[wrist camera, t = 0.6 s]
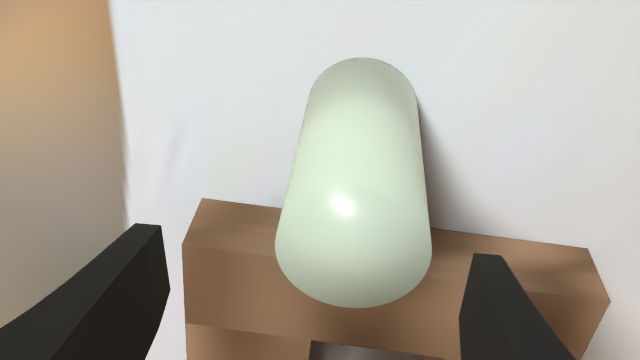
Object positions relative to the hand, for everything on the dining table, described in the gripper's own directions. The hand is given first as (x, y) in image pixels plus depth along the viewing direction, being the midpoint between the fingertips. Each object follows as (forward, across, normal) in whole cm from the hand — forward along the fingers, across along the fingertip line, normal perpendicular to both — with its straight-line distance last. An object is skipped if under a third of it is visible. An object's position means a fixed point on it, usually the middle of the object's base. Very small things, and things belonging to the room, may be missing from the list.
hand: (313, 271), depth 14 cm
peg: (+9, -1, 0) cm, 9 cm away
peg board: (+9, -2, +13) cm, 16 cm away
